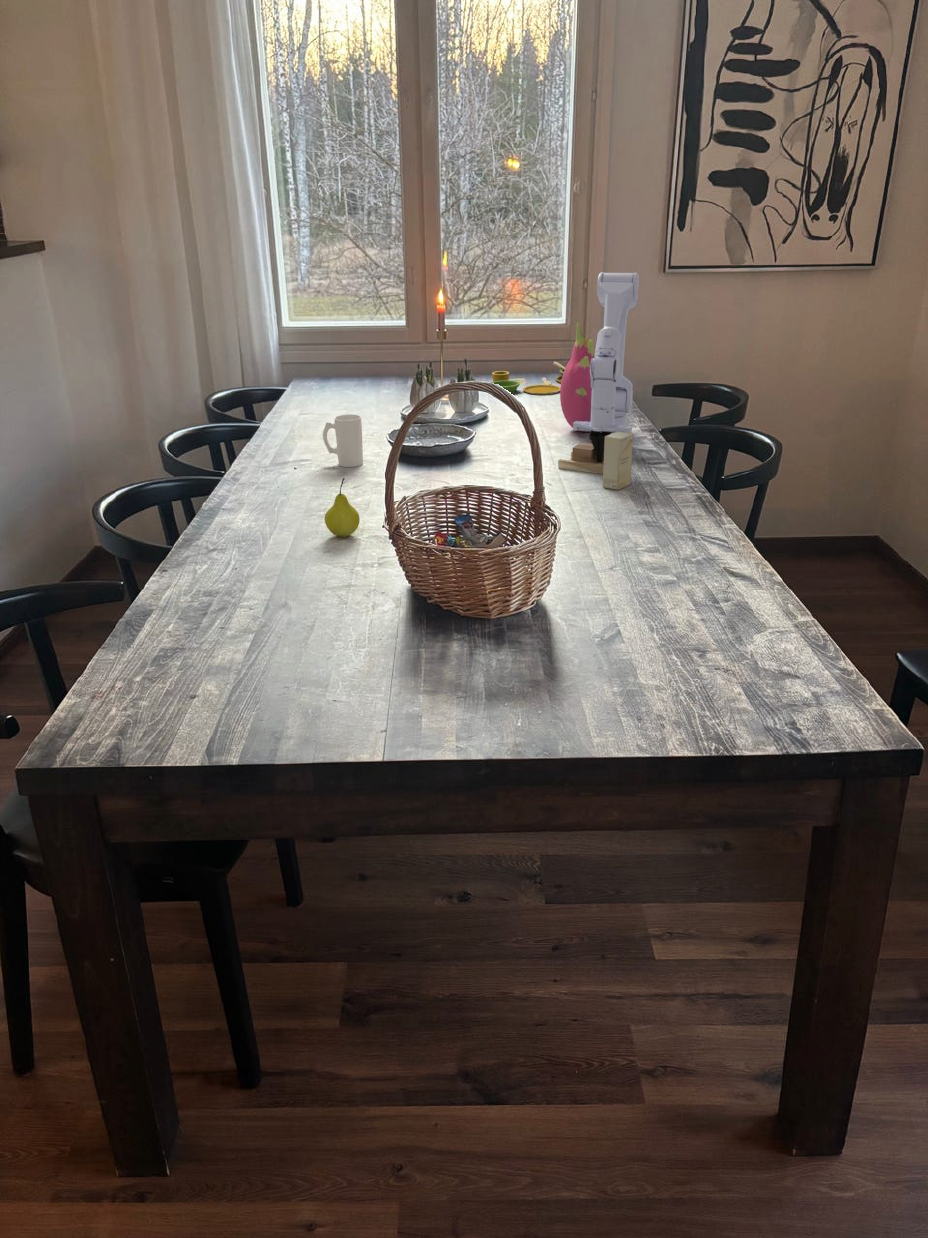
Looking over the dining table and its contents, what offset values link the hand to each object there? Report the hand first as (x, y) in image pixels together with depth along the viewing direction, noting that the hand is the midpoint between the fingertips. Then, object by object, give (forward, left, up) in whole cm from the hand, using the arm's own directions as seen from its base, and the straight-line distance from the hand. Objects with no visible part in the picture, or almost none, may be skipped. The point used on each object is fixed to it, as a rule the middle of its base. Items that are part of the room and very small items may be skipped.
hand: (600, 461), depth 238 cm
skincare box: (+12, +9, -2) cm, 15 cm away
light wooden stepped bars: (0, -3, -2) cm, 4 cm away
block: (0, -4, -2) cm, 4 cm away
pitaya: (-32, -17, -2) cm, 37 cm away
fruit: (+68, -30, -2) cm, 74 cm away
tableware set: (-83, -50, -2) cm, 97 cm away
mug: (+24, -60, -2) cm, 65 cm away
